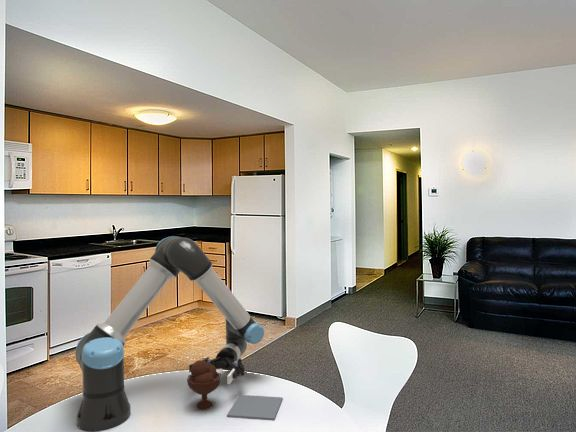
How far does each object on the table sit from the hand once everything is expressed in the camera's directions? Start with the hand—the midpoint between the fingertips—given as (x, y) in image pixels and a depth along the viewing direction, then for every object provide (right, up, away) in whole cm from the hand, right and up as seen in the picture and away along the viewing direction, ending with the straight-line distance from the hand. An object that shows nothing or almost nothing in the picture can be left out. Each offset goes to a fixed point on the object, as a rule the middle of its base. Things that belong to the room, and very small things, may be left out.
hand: (208, 379), depth 134 cm
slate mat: (+16, -8, -4) cm, 18 cm away
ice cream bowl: (-1, -8, -2) cm, 8 cm away
